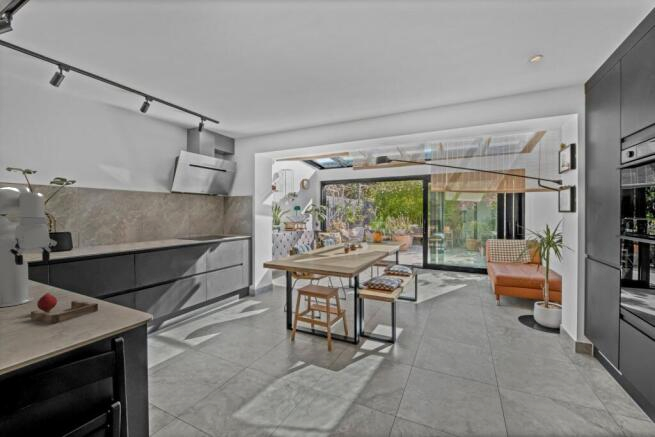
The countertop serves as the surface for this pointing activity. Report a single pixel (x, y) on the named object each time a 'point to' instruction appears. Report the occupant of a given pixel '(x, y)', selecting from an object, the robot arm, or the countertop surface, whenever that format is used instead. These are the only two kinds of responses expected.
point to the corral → (78, 310)
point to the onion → (47, 302)
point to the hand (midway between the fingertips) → (33, 262)
